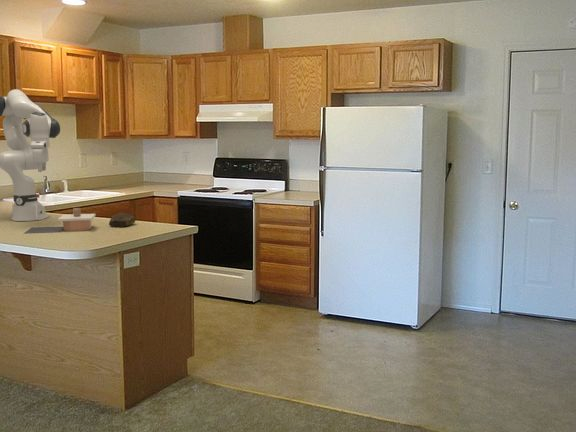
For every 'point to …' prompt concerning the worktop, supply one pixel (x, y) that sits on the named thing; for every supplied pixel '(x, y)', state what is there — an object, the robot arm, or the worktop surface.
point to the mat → (44, 230)
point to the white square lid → (76, 216)
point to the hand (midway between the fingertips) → (42, 171)
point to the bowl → (77, 225)
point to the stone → (121, 220)
